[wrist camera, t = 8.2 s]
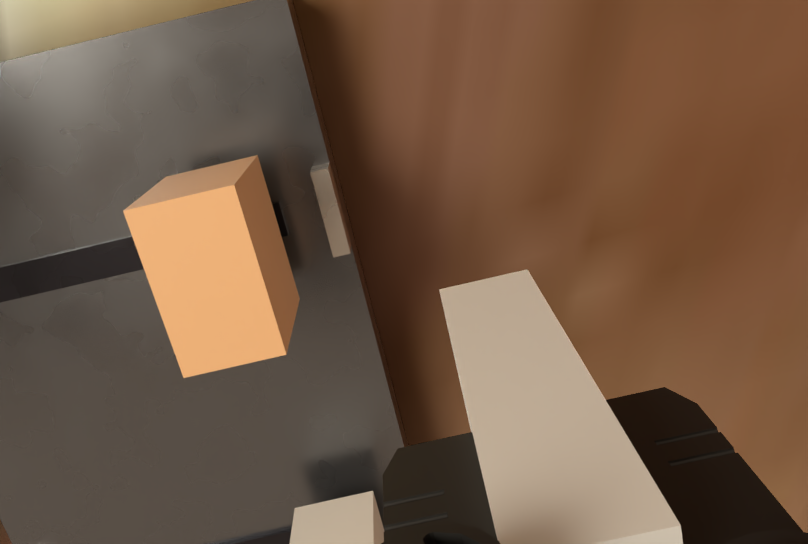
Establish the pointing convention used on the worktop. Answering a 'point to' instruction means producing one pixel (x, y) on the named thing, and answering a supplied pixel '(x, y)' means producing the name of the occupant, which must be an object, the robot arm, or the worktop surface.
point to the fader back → (339, 521)
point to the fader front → (216, 265)
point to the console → (137, 309)
